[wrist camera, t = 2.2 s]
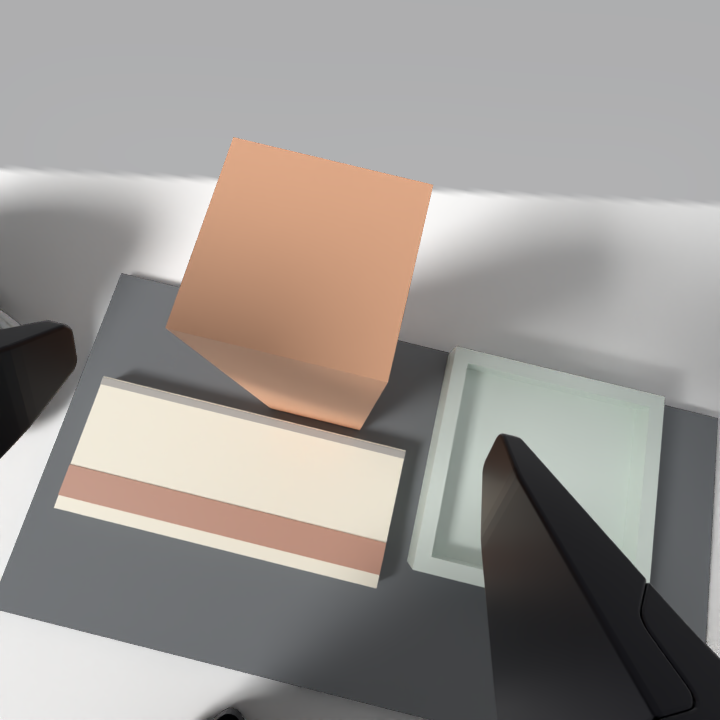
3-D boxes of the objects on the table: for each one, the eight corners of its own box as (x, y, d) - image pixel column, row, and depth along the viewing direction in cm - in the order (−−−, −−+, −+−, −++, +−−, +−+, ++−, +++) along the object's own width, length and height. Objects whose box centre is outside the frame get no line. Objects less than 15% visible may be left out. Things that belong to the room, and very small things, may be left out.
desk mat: (690, 780, 17) (698, 787, 17) (-3, 604, 18) (-11, 608, 17) (710, 418, 21) (717, 418, 20) (125, 276, 21) (121, 273, 21)
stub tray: (621, 614, 18) (646, 628, 17) (407, 561, 18) (412, 569, 17) (641, 401, 20) (664, 396, 19) (448, 354, 20) (456, 346, 19)
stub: (359, 430, 19) (387, 382, 8) (270, 408, 19) (165, 327, 8) (380, 344, 20) (433, 185, 9) (295, 323, 20) (233, 137, 9)
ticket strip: (375, 583, 18) (376, 588, 17) (66, 505, 18) (52, 507, 17) (403, 451, 19) (405, 450, 18) (113, 379, 19) (103, 375, 19)
